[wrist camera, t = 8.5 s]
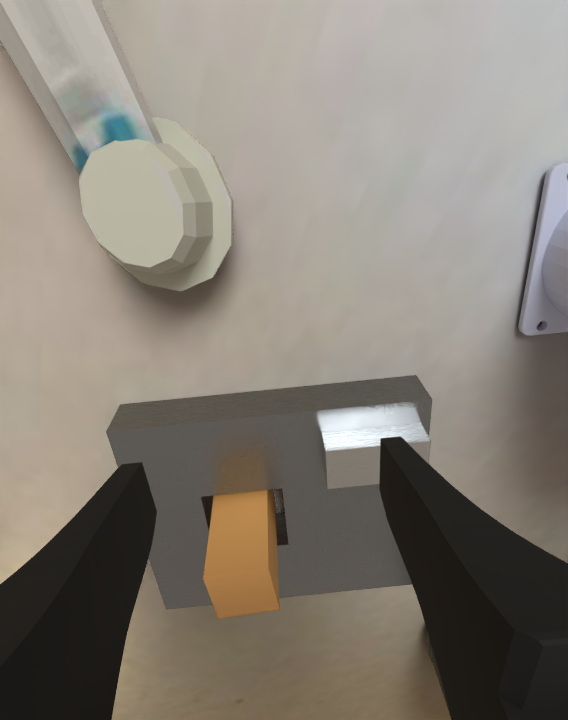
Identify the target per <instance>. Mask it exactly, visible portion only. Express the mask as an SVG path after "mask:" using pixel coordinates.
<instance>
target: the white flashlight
mask: <svg viewBox="0 0 568 720" xmlns="http://www.w3.org/2000/svg"><path fill="white" fill-rule="evenodd" d="M0 41H1V42H2V44H3V46H4V47H5V49H6V51H7V52H8V54H9V56H10V58H11V59H12V61H13V63H14V64H15V66H16V68H17V69H18V71H19V73H20V74H21V76H22V78H23V80H24V81H25V83H26V85H27V86H28V88H29V90H30V91H31V93H32V95H33V96H34V98H35V100H36V101H37V103H38V105H39V107H40V108H41V110H42V112H43V113H44V115H45V117H46V118H47V120H48V122H49V123H50V125H51V127H52V129H53V130H54V132H55V134H56V135H57V137H58V139H59V140H60V142H61V144H62V145H63V147H64V149H65V150H66V152H67V154H68V156H69V157H70V159H71V161H72V162H73V164H74V166H75V167H76V169H77V171H78V172H79V174H80V176H79V187H80V196H81V205H82V214H83V215H84V217H85V219H86V221H87V223H88V224H89V226H90V228H91V230H92V232H93V233H94V235H95V237H96V239H97V241H98V242H99V244H100V246H101V247H102V248H103V249H105V250H106V251H107V253H108V255H109V256H110V257H111V258H112V259H113V260H114V261H116V262H117V263H118V264H119V265H121V266H122V267H123V268H124V269H126V270H127V271H128V272H129V273H131V274H132V275H133V276H134V277H136V278H137V279H138V280H140V281H141V282H142V283H143V284H146V285H151V286H156V287H161V288H166V289H171V290H176V291H183V290H186V289H188V288H190V287H193V286H195V285H197V284H199V283H202V282H204V281H206V280H208V279H211V278H213V277H214V276H215V274H216V273H217V271H218V269H219V267H220V266H221V264H222V262H223V260H224V259H225V257H226V255H227V253H228V251H229V250H230V248H231V246H232V244H233V199H232V196H231V194H230V192H229V190H228V187H227V185H226V183H225V181H224V178H223V176H222V174H221V171H220V169H219V167H218V165H217V162H216V160H215V158H214V156H213V155H212V154H211V153H210V152H209V151H207V150H206V149H205V148H204V147H203V146H202V145H201V144H200V143H199V142H198V141H197V140H195V139H194V138H193V137H192V136H191V135H190V134H189V133H188V132H187V131H186V130H185V129H183V128H182V127H181V126H180V125H179V124H178V123H176V122H175V121H171V120H167V119H162V118H158V117H154V116H151V114H150V112H149V110H148V108H147V105H146V103H145V101H144V99H143V96H142V94H141V92H140V90H139V87H138V85H137V83H136V81H135V78H134V76H133V74H132V72H131V69H130V67H129V65H128V63H127V60H126V58H125V56H124V54H123V51H122V49H121V47H120V45H119V42H118V40H117V38H116V36H115V33H114V31H113V29H112V27H111V24H110V22H109V20H108V18H107V15H106V13H105V11H104V9H103V6H102V4H101V2H100V0H0Z"/></svg>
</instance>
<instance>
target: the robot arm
mask: <svg viewBox="0 0 568 720" xmlns="http://www.w3.org/2000/svg"><path fill="white" fill-rule="evenodd" d="M567 175H568V162H566V163H558V164H555V165H553V166H552V167H550V169H549V170H548V171H547V173H546V176H545V181H544V186H543V192H542V197H541V203H540V208H539V214H538V220H537V225H536V231H535V236H534V242H533V247H532V253H531V259H530V264H529V270H528V275H527V281H526V286H525V292H524V297H523V303H522V309H521V314H520V320H519V325H518V326H519V330H520V332H521V333H523V334H524V335H526V336H533V335H543V334H553V333H564V332H568V180H567ZM542 321H543V323H542V325H541V326H540V327H538V328H537V325H538V324H539V323H540V322H542ZM379 490H380V494H381V498H382V502H383V506H384V510H385V513H386V517H387V521H388V523H389V526H390V528H391V531H392V534H393V536H394V539H395V541H396V544H397V546H398V549H399V552H400V554H401V557H402V559H403V562H404V564H405V567H406V569H407V572H408V574H409V577H410V579H411V582H412V584H413V587H414V590H415V592H416V595H417V598H418V601H419V604H420V607H421V610H422V614H423V617H424V621H425V624H426V627H427V631H428V634H429V638H430V641H431V645H432V648H433V652H434V656H435V659H436V663H437V667H438V670H439V674H440V677H441V681H442V685H443V689H444V693H445V696H446V700H447V704H448V708H449V712H450V716H451V719H452V720H568V563H566V562H564V561H562V560H560V559H558V558H557V557H555V556H553V555H551V554H549V553H548V552H546V551H544V550H542V549H541V548H539V547H537V546H536V545H534V544H532V543H531V542H529V541H527V540H526V539H524V538H522V537H521V536H519V535H518V534H516V533H514V532H513V531H511V530H510V529H508V528H507V527H505V526H504V525H502V524H501V523H499V522H498V521H497V520H495V519H494V518H492V517H491V516H490V515H488V514H487V513H485V512H484V511H483V510H481V509H480V508H479V507H477V506H476V505H475V504H474V503H472V502H471V501H470V500H469V499H467V498H466V497H465V496H464V495H463V494H461V493H460V492H459V491H458V490H457V489H455V488H454V487H453V486H452V485H451V484H450V483H449V482H448V481H446V480H445V479H444V478H443V477H442V476H441V475H440V474H439V473H438V472H437V471H436V470H434V469H433V468H432V467H431V466H430V465H429V464H428V463H427V462H426V461H425V460H424V459H423V458H422V457H421V456H420V455H419V454H418V453H417V452H416V451H415V450H414V449H413V448H412V447H411V446H410V445H409V444H408V443H407V442H406V441H405V440H404V439H403V438H402V437H401V436H398V437H388V438H380V481H379ZM156 516H157V510H156V506H155V503H154V500H153V497H152V493H151V490H150V487H149V483H148V480H147V477H146V473H145V470H144V467H143V464H142V462H139V463H129V464H122V465H121V466H120V467H119V468H118V469H117V470H116V471H115V472H114V473H113V474H112V476H111V477H110V478H109V479H108V480H107V481H106V482H105V483H104V485H103V486H102V487H101V488H100V489H99V490H98V491H97V492H96V494H95V495H94V496H93V497H92V498H91V499H90V500H89V501H88V502H87V503H86V505H85V506H84V507H83V508H82V509H81V510H80V511H79V512H78V513H77V514H76V515H75V516H74V518H73V519H72V520H71V521H70V522H69V523H68V524H67V525H66V526H65V527H64V528H63V529H62V530H61V531H60V532H59V533H58V534H57V535H56V536H55V537H54V538H53V539H52V540H51V541H50V542H49V543H48V544H46V545H45V546H44V547H43V548H42V549H41V550H40V551H39V552H38V553H37V554H36V555H35V556H33V557H32V558H31V559H30V560H29V561H28V562H27V563H25V564H24V565H23V566H22V567H21V568H20V569H18V570H17V571H16V572H15V573H14V574H13V575H11V576H10V577H9V578H8V579H6V580H5V581H4V582H3V583H1V584H0V720H111V719H112V713H113V707H114V701H115V695H116V689H117V683H118V677H119V672H120V666H121V661H122V656H123V651H124V645H125V640H126V635H127V631H128V627H129V623H130V619H131V616H132V612H133V609H134V606H135V602H136V599H137V595H138V592H139V588H140V585H141V582H142V578H143V575H144V571H145V568H146V564H147V561H148V557H149V554H150V550H151V546H152V542H153V536H154V530H155V523H156Z"/></svg>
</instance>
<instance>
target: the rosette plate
mask: <svg viewBox="0 0 568 720" xmlns="http://www.w3.org/2000/svg"><path fill="white" fill-rule="evenodd" d="M431 406H432V398H431V397H430V395H429V394H428V392H427V391H426V389H425V388H424V386H423V385H422V383H421V382H420V380H419V379H418V377H417V376H416V375H415V376H405V377H395V378H385V379H375V380H365V381H355V382H345V383H335V384H324V385H314V386H304V387H294V388H284V389H274V390H264V391H254V392H244V393H234V394H224V395H213V396H203V397H193V398H183V399H173V400H163V401H153V402H143V403H133V404H123V405H120V406H119V408H118V410H117V412H116V414H115V416H114V418H113V420H112V422H111V423H110V425H109V427H108V429H107V431H106V433H107V436H108V439H109V442H110V445H111V448H112V451H113V453H114V456H115V459H116V462H117V465H118V468H119V467H120V466H121V465H122V464H129V463H139V462H142V464H143V467H144V470H145V473H146V477H147V480H148V483H149V487H150V490H151V493H152V497H153V500H154V503H155V506H156V510H157V516H156V523H155V530H154V536H153V542H152V546H151V550H150V554H149V560H150V563H151V566H152V569H153V572H154V575H155V577H156V580H157V583H158V586H159V589H160V592H161V595H162V598H163V601H164V604H165V607H166V609H175V608H184V607H194V606H204V605H213V603H212V601H211V598H210V596H209V593H208V590H207V588H206V585H205V583H204V580H203V576H204V568H205V560H206V552H207V545H208V537H209V529H210V521H211V514H212V506H213V498H212V496H213V495H223V494H233V493H242V492H252V491H262V490H272V489H282V492H283V501H284V509H285V513H281V514H276V535H277V559H278V583H279V598H282V597H292V596H302V595H312V594H321V593H331V592H341V591H351V590H360V589H370V588H380V587H390V586H400V585H409V584H412V582H411V579H410V577H409V574H408V572H407V569H406V567H405V564H404V562H403V559H402V557H401V554H400V552H399V549H398V546H397V544H396V541H395V539H394V536H393V534H392V531H391V528H390V526H389V523H388V521H387V517H386V513H385V510H384V506H383V502H382V498H381V494H380V490H379V481H380V438H388V437H398V436H401V437H402V438H403V439H404V440H405V441H406V442H407V443H408V444H409V445H410V446H411V447H412V448H413V449H414V450H415V451H416V452H417V453H418V454H419V455H420V456H421V457H422V458H423V459H424V460H425V461H426V462H427V463H428V464H429V455H430V444H431V440H430V438H429V429H430V418H431Z"/></svg>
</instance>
